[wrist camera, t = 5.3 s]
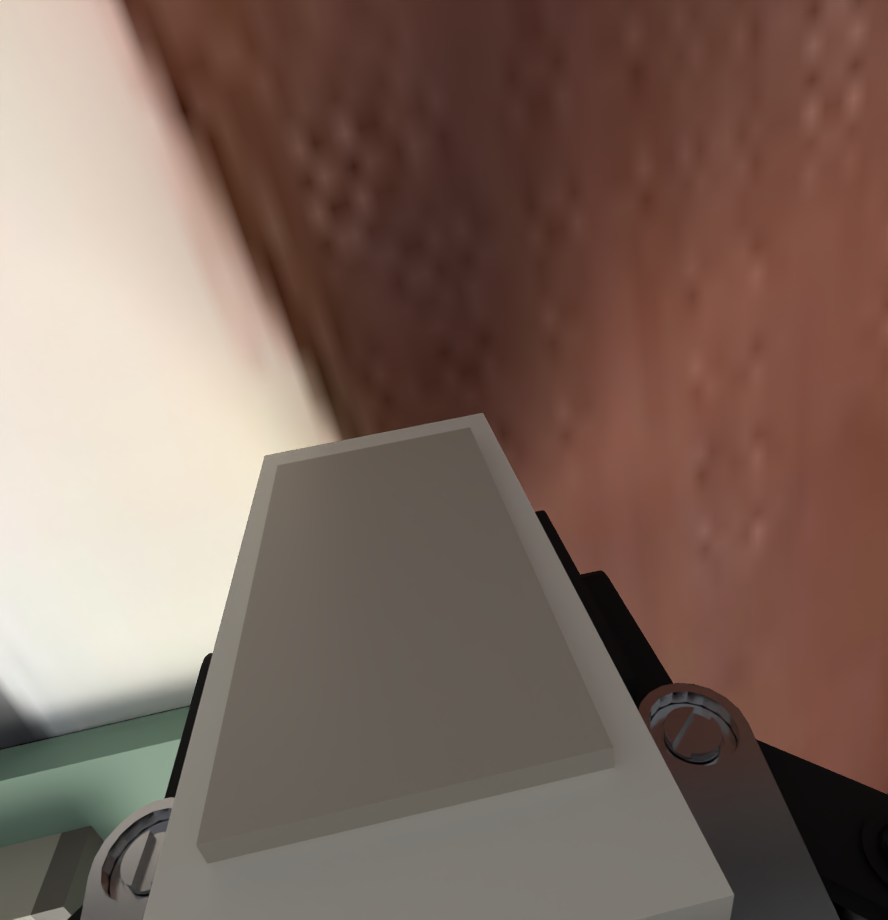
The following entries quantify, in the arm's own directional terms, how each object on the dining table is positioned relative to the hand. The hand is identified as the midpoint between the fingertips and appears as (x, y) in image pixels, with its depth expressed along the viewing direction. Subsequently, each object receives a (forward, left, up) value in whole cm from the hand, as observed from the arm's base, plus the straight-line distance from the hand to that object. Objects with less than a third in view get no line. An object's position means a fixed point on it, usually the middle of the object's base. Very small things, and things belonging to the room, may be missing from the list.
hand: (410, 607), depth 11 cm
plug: (0, 0, -1) cm, 1 cm away
